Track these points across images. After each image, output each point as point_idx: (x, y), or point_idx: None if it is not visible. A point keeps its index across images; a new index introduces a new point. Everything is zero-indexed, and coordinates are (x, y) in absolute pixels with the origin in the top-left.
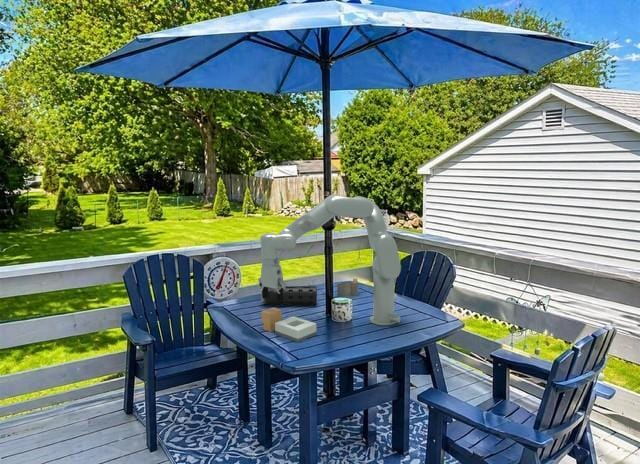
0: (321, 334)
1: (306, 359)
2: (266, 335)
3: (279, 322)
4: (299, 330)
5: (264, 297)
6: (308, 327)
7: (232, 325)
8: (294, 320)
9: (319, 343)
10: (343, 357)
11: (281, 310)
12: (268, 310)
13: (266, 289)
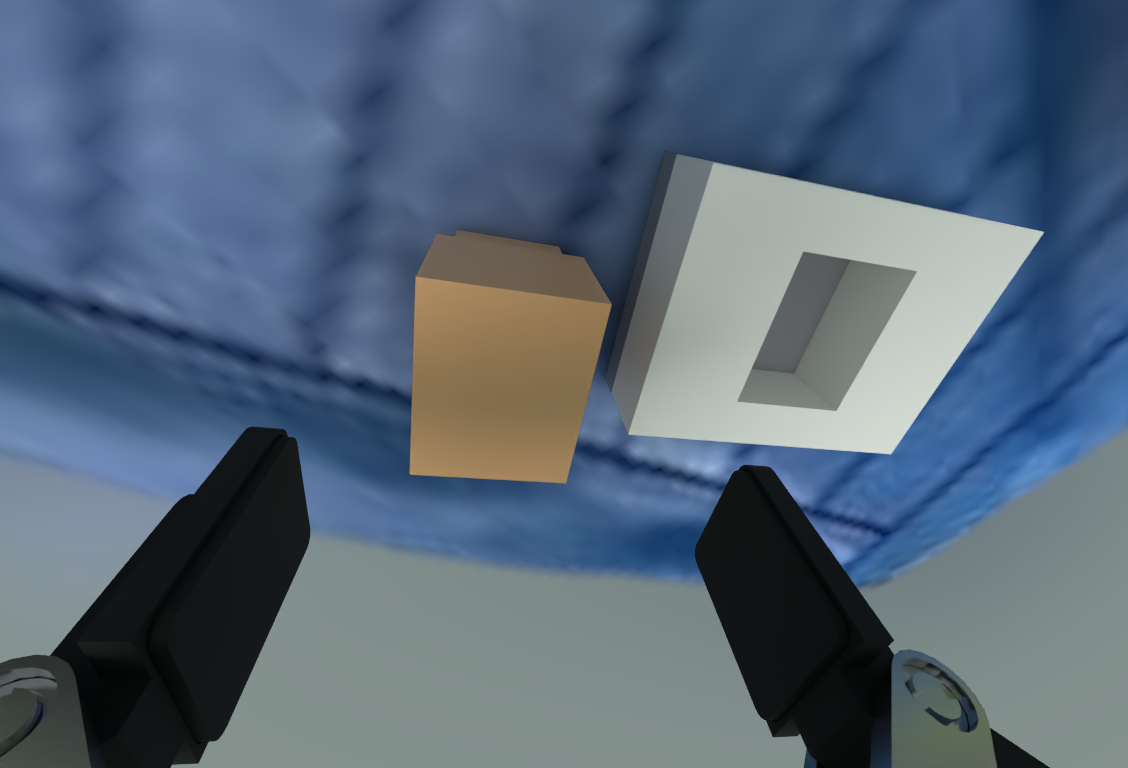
0: (980, 174)
1: (926, 517)
2: None
3: (662, 407)
4: (898, 439)
5: (301, 534)
6: (959, 341)
7: (151, 435)
8: (783, 283)
9: (976, 337)
10: (1124, 414)
11: (609, 306)
12: (463, 414)
13: (190, 677)
